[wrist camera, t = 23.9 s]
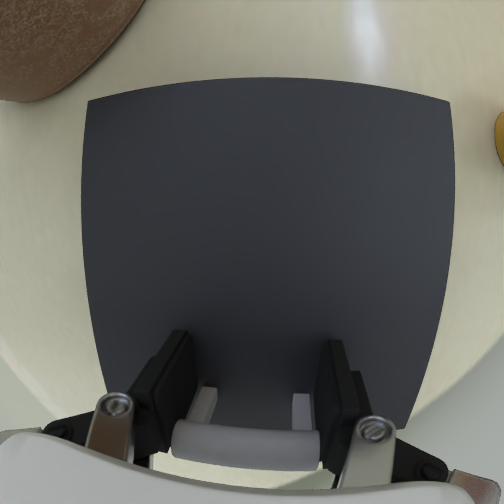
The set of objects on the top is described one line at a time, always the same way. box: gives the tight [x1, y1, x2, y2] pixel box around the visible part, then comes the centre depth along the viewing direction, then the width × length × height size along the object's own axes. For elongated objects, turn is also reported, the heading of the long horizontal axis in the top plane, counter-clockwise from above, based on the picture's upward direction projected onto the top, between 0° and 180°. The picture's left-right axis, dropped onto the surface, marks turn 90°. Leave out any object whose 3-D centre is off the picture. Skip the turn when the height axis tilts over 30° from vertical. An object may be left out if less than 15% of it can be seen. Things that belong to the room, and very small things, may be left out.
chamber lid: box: [81, 77, 455, 471], centre depth 9 cm, size 16×16×5 cm
